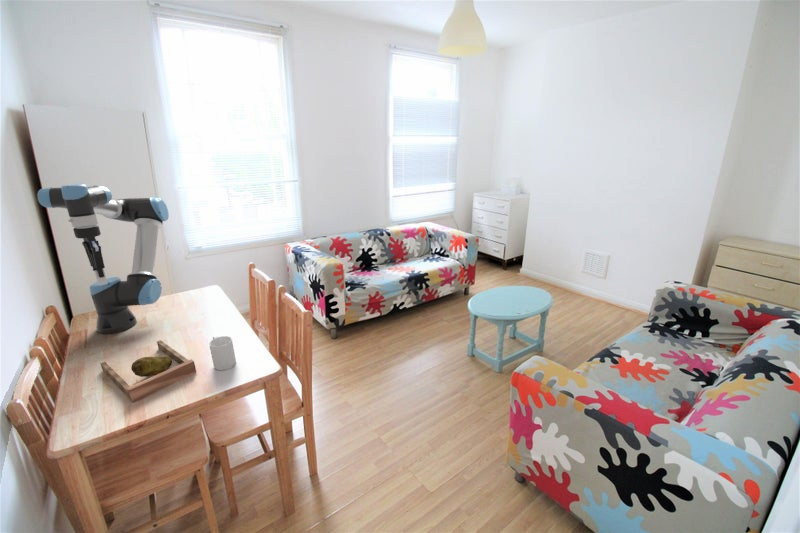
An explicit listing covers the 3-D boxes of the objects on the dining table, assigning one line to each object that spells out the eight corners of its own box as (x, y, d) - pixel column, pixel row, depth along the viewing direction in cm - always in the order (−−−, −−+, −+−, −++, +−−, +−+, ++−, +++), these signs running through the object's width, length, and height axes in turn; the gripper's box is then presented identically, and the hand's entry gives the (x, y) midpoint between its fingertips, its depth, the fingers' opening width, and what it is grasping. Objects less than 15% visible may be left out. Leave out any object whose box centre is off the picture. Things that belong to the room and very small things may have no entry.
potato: (177, 371, 140) (172, 353, 138) (136, 386, 132) (131, 367, 130) (172, 362, 146) (167, 344, 144) (133, 376, 138) (127, 357, 135)
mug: (239, 364, 144) (235, 341, 141) (218, 373, 139) (213, 349, 136) (228, 352, 153) (223, 330, 149) (207, 360, 147) (202, 337, 144)
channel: (102, 371, 141) (99, 360, 139) (162, 347, 157) (159, 337, 155) (133, 402, 124) (129, 390, 122) (196, 372, 140) (193, 361, 138)
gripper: (68, 225, 140) (86, 283, 148) (78, 230, 132) (97, 291, 140) (92, 222, 145) (108, 278, 153) (103, 226, 138) (120, 285, 146)
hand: (103, 284), depth 147 cm, fingers closed
